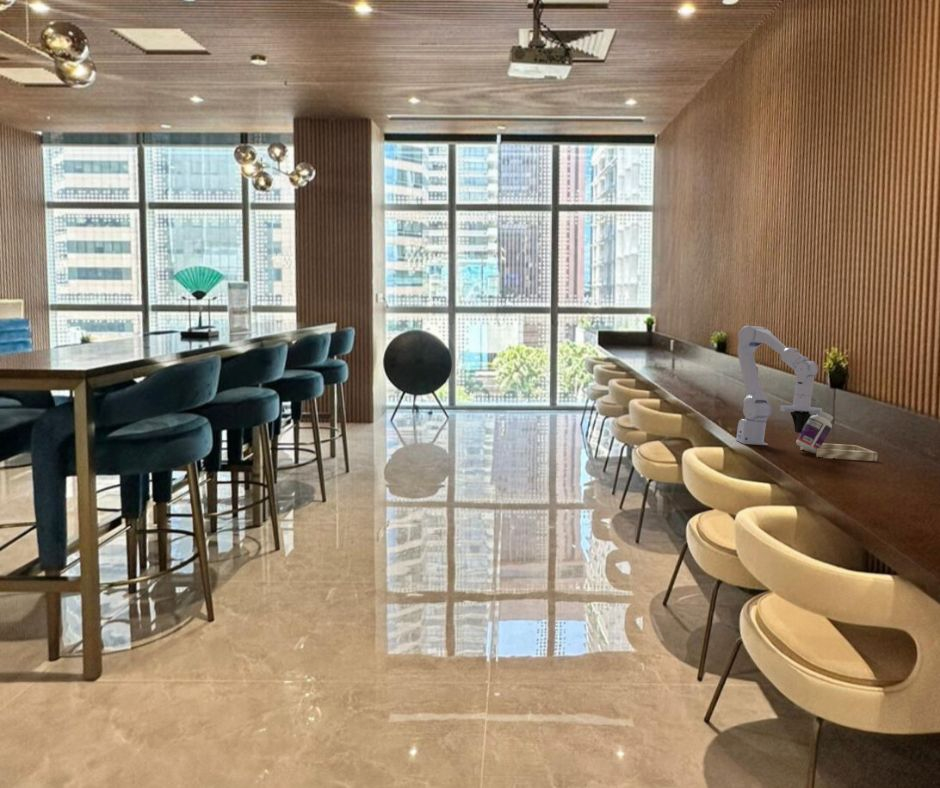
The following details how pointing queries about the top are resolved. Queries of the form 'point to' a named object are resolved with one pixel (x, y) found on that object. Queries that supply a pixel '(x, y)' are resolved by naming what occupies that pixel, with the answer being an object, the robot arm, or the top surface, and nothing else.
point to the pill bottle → (815, 432)
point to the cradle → (845, 452)
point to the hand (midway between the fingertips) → (798, 432)
